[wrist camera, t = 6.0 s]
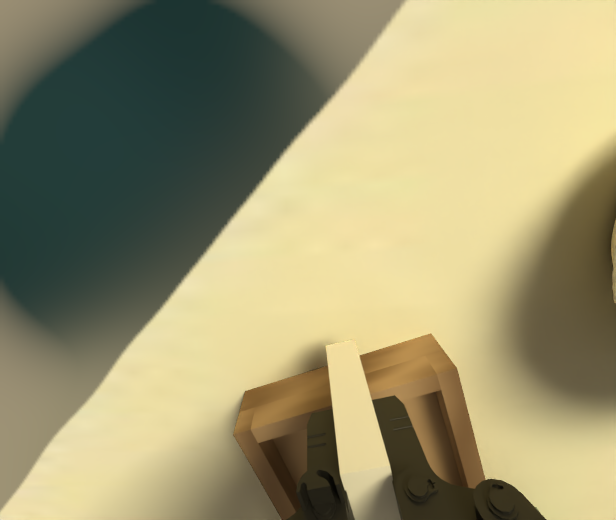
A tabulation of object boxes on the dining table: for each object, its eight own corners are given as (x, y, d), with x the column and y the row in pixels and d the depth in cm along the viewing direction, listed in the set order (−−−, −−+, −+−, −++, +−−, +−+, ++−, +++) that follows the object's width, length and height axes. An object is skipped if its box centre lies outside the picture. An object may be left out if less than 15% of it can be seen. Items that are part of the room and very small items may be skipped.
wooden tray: (428, 330, 18) (502, 429, 11) (476, 504, 22) (549, 649, 16) (246, 387, 19) (213, 507, 12) (327, 541, 23) (335, 690, 17)
